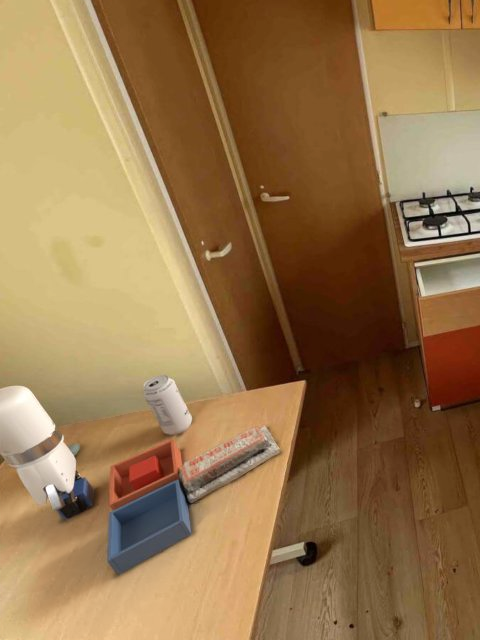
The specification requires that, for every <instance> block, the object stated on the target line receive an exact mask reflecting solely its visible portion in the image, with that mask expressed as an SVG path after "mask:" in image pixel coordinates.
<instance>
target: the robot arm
mask: <svg viewBox="0 0 480 640" xmlns="http://www.w3.org/2000/svg"><path fill="white" fill-rule="evenodd" d="M64 440H65V436H64V434H63V433H62V432H61V431H60V429H59V428H58V426H57V425H56V424H55V422H54V421H53V420H52V418H51V417H50V415H49V414H48V413H47V411H46V410H45V408H44V407H43V405H42V404H41V403H40V401H39V400H38V399H37V397H36V396H35V395H34V393H33V391H31V390H30V389H29V387H26V386H24V385H10V386H5V387H1V388H0V456H1V457H2V458H3V460H4V461H5V462H6V463H7V464H8V466H10V467H12V468H15V469H16V473H17V474H18V477H19V479H20V481H21V483H22V485H23V486H24V488H25V489H26V490H27V491H28V493H29V495H30V496H31V497H32V500H34V502H35V503H36V504H37V506H44V505H46V504H47V503H48V500H49V503H50V505H51V508H52V511H53V512H57V511H56V510H58V509H59V510H60V511H61V513H62V514H63V515H64V516H65V517H66V518H67V519H66V520H69V519H71V518H73V517H75V516H77V515H79V514H81V513H84V512H86V511H87V510H88V509H89V508H88V506H87V505H86V504H85V502H84V501H83V500H82V499H81V497H80V496H76V495H75V493H74V491H73V486H74V482H75V481H77V480H79V479H81V478H83V477H82V476H81V475H80V473H79V471H78V470H77V469H76V468H77V460H76V457H75V456H74V455H73V454H72V452H71V451H70V449H69V448H68V447H67V446H68V445H67V444H66V443H65V442H64ZM59 490H60V491H59ZM66 493H67V494H68V495H69V497H67V498H65V499H62V498H61V496H62V495H64V494H66Z"/></svg>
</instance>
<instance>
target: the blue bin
mask: <svg viewBox="0 0 480 640" xmlns="http://www.w3.org/2000/svg"><path fill="white" fill-rule="evenodd" d="M188 506H189V504H188V497H187V494H186V491H185V488H184V487H183V486H182V485H181V483H180V481H179V479H177V480H175V481H173V482H171V483H169V484H167V485H165V486H163V487H161V488H159V489H157V490H155V491H152V492H150V493H148V494H146V495H144V496H142V497H140V498H138V499H136V500H134V501H132V502H130V503H128V504H126V505H124V506H122V507H119V508H117V509H115V510H111V511H110V512H108V524H107V525H108V526H107V529H108V530H107V555H106V556H107V557H106V558H107V559H106V562H107V563H108V564H109V565H110V567H111V568H112V569H113V570H114V571H115V573H116V574H117V575H120V574H122V573H124V572H126V571H128V570H129V569H131V568H133V567H135V566H137V565H138V564H140V563H142V562H144V561H146V560H147V559H149V558H151V557H153V556H155V555H157V554H158V553H160V552H162V551H164V550H166V549H167V548H169V547H172V546H173V545H175V544H176V543H178V542H180V541H182V540H183V539H185V538H187V537H189V536H191V535H192V527H191V519H190V513H189V507H188Z"/></svg>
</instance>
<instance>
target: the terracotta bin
mask: <svg viewBox="0 0 480 640" xmlns="http://www.w3.org/2000/svg"><path fill="white" fill-rule="evenodd" d="M152 456H156V457H157V459H158V461H159V463H160V464H161V466H162V468H163V476H164V478H161V479H159V480H157V481H155V482H153V483H151V484H149V485H147V486H145V487H143V488H140V489H138V490H136V491H135V489H134V488H133V486H132V485H131V483H130V482H129V467H130V466H132V465H134V464H137V463H139V462H141V461H143V460H146V459H148V458H150V457H152ZM182 464H183V460H182V452H181V450H180V448H179V445H177V443H176V440H175V438H170V440H167V441H165V442H163V443H160V444H158V445H156V446H153V447H151V448H149V449H146V450H144V451H142V452H140V453H138V454H135V455H132V456H130V457H128V458H125V459H124V460H122V461H121V460H120V461H119V462H117V463H115V464H112V465H111V466H109V467H110V470H109V494H108V495H109V501H108V506H109V507H110V509H111V511H113V510H115V509H117V508H119V507H122V506H124V505H126V504H128V503H130V502H132V501H134V500H136V499H138V498H140V497H142V496H144V495H146V494H148V493H150V492H152V491H155V490H157V489H159V488H161V487H163V486H165V485H167V484H169V483H171V482H173V481H175V480H177V479H179V481H180V483H181V485H182V486H183V488H184V485H183V483H182V482H181V479H180V476H179V473H180V468H181V465H182Z"/></svg>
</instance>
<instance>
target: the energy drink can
mask: <svg viewBox="0 0 480 640" xmlns="http://www.w3.org/2000/svg"><path fill="white" fill-rule="evenodd" d="M142 388H143V391H142V395H143V397H144V399H145V402H146V403H147V405H148V406H149V409H150V410H151V412H152V414H153V415H154V417H155V420H156V421H157V423H158V425H159V427H160V428H161V430H162V433H164V434H166V435H169V436H174V435H175V436H176V435H178V434H181V433H183V432H185V431H186V430H187V429H189V428H190V426H191V423H192V421H193V417H192V414H191V413H190V410H189V408H188V406H187V404H186V402H185V400H184V399H183V397H182V394H181V393H180V390H179V389H178V386H177V384H176V382H175V380H174V379H172V378H170V377H169V376H168V375H167V374H161V375H160V374H159V375H156V376H154V377H152V378H150V379H148V380H147V381H145V382H144V384H143V385H142Z"/></svg>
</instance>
